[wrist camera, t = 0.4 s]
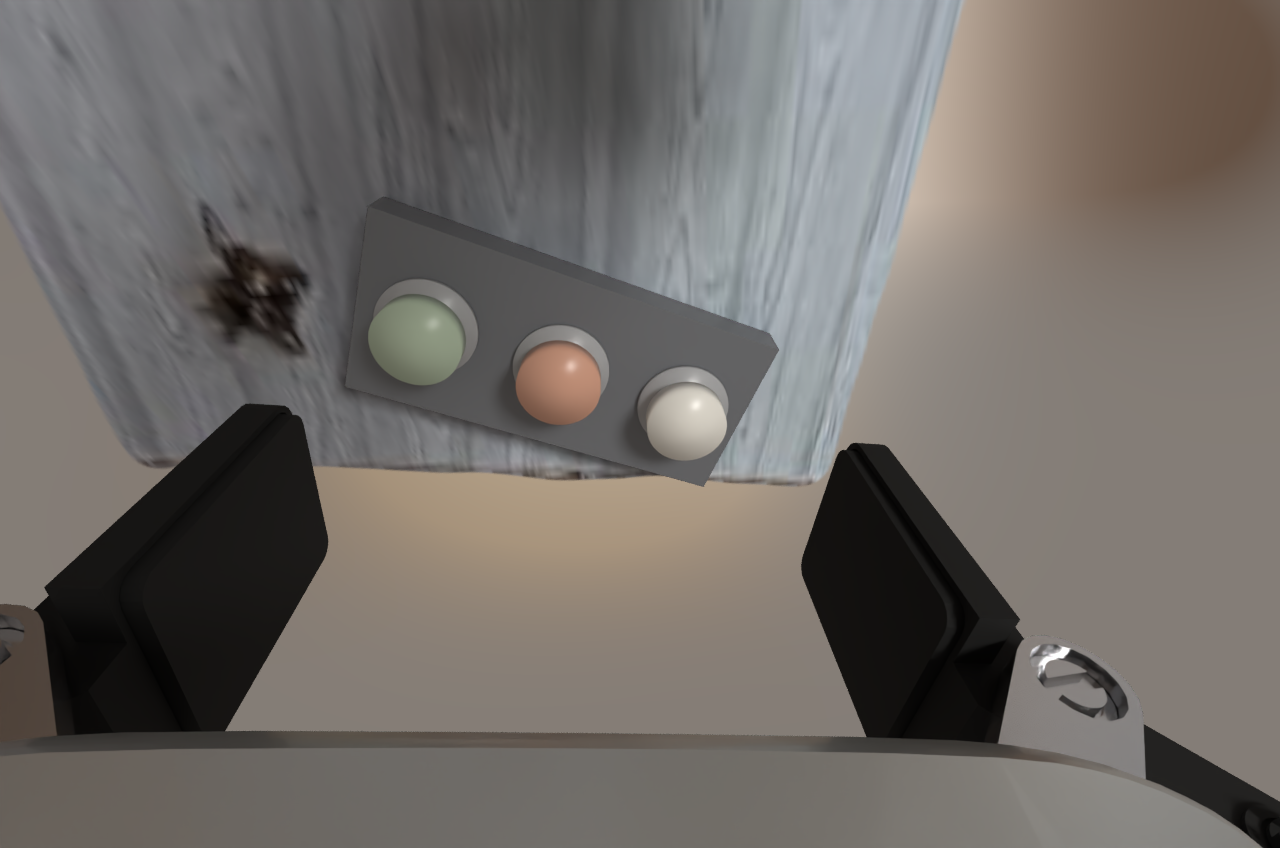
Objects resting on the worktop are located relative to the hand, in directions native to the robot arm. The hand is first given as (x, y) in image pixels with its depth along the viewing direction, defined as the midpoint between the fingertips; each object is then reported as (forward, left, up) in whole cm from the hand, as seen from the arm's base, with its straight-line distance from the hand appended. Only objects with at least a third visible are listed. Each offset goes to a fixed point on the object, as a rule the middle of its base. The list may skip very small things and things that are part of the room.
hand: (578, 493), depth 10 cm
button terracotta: (+14, +2, -31) cm, 34 cm away
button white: (+14, +12, -31) cm, 36 cm away
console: (+14, +2, -34) cm, 37 cm away
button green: (+14, -8, -31) cm, 35 cm away
